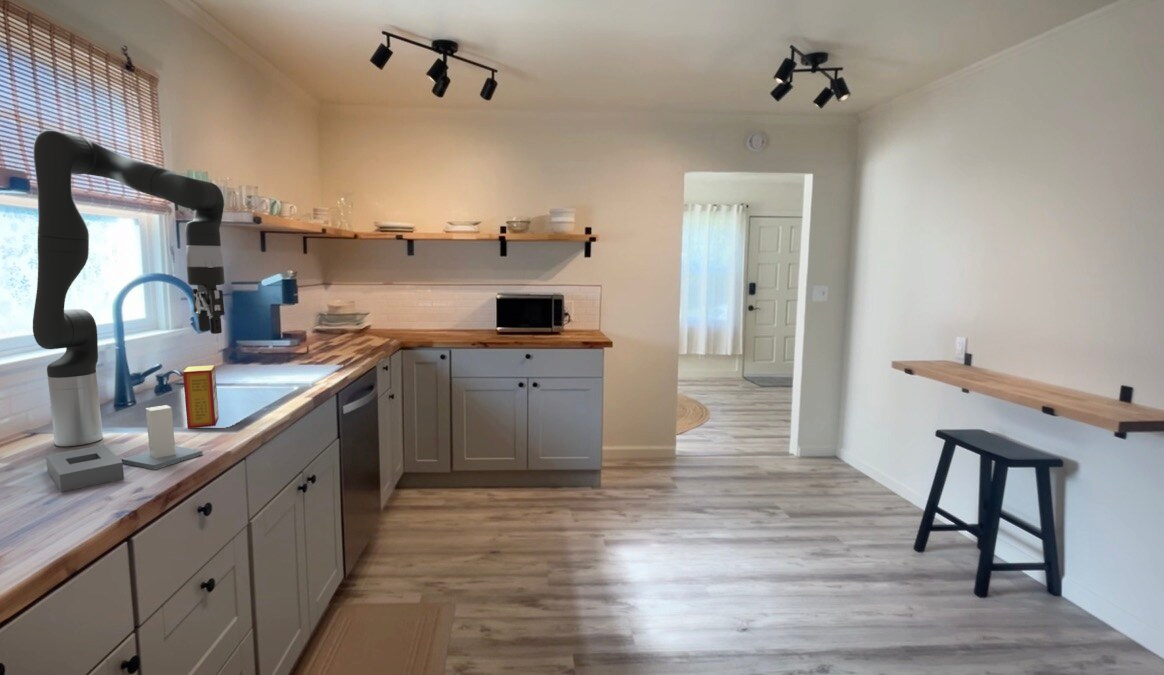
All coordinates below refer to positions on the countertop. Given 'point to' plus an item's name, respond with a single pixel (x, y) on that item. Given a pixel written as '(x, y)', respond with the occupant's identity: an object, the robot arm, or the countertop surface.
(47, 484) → the countertop surface
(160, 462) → the mat
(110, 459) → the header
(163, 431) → the tall cream white pillar
